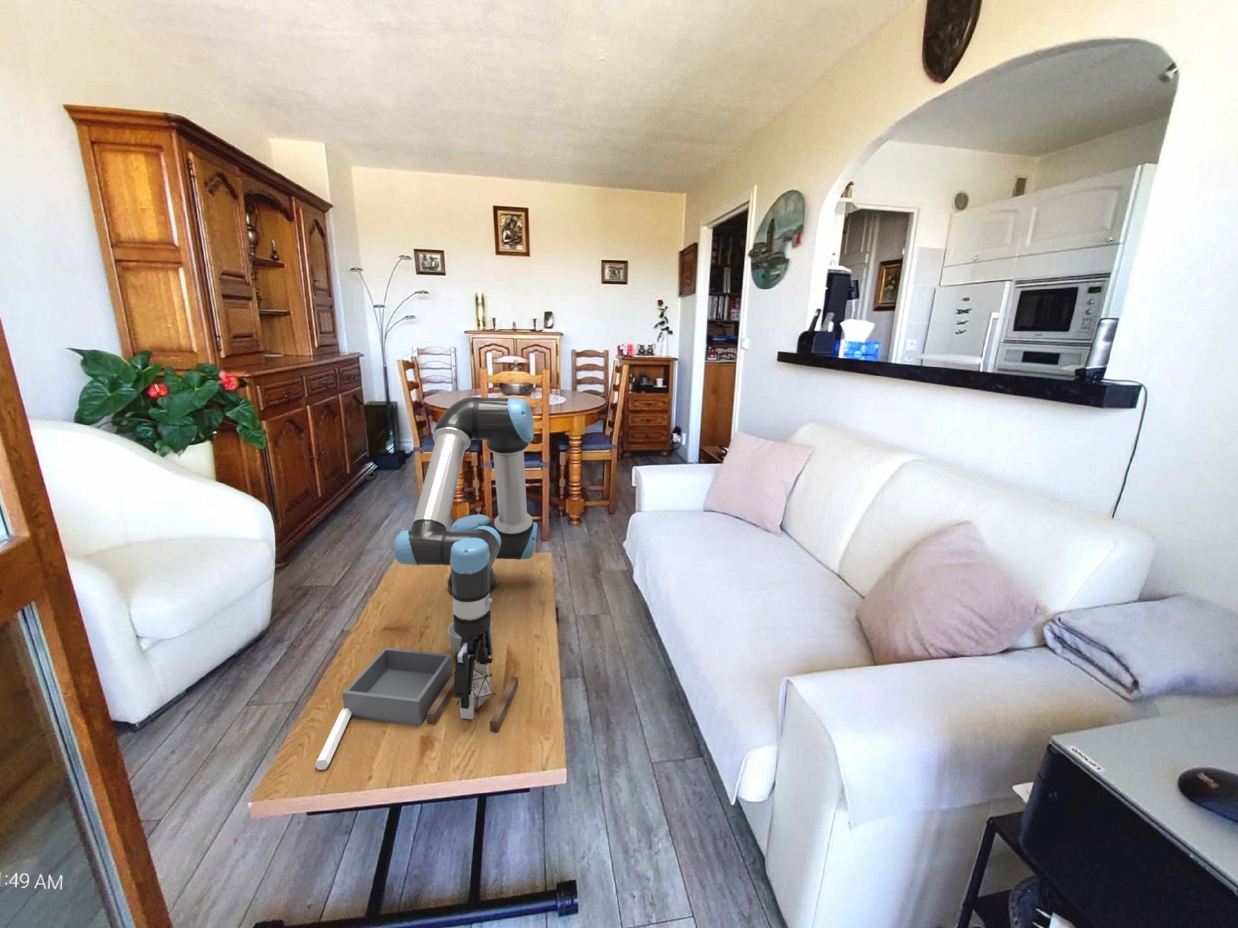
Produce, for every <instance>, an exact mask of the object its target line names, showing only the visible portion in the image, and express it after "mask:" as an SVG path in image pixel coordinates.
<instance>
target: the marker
mask: <svg viewBox="0 0 1238 928" xmlns="http://www.w3.org/2000/svg"><path fill="white" fill-rule="evenodd" d="M351 714H352V712H351V711H350V710H349V708H344V707H343V708H342V709H341V711H340V712H339V714H338V716H337V718H336V721H335V723H334V724H333V726H332V728H331V731H330V733H329V735H328V736H327V739H326V741H325V743H324V746H323V748H322V749H321V752H320V754H319V756H318V758H317V760H316V762H315V764H314V767H315V768H316V769H317V770H319V771H320V770H327V768H328V766H329V765H330V764H331V763H330V762H331V760H332V758H333V757H334V754H335V751H336V749H337V748H338V744H339V743H340V741H341V738H342V736H343V735H344V732H345V730H346V727H347V725H348V723H349V721H350V716H351Z"/></svg>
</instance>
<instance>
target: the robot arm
mask: <svg viewBox="0 0 1238 928" xmlns="http://www.w3.org/2000/svg"><path fill="white" fill-rule="evenodd" d="M534 424H535V422H534V417H533V411H532V408H531V405H530V403H529V402H528V401H527V400H526V399H523V398H522V399H521V398H514V397H509V398H507V397H479V396H470V397H464V398H462V399H460V400H457V402H455V403H454V404H452V405H450V407H448V408H447V410H445V411H444V413H442V415H441V416H440V418H439V419H438V421H437V422H436V424H435V427H434V430H433V433H432V440H433V442H434V446H433V448H432V452H431V457H430V460H429V463H428V467H427V471H426V475H425V477H424V481H423V484H422V489H421V491H420V496H419V500H418V503H417V507H416V509H415V513H414V517H413V520H412V525H411V528H410V529H407V530H401V531H399V532H398V534H397V535H396V536H395V539H394V545H393V554H394V558H395V560H396V562H398V563H399V564H401V565H412V566H422V565H423V566H427V565H428V566H433V565H434V566H440V565H441V566H450V574H449V577H448V579H447V591H448V593H449V594H451V595H452V596H451V597H452V598H451V599H452V613H453V616H452V617H453V618H452V619H453V621H454V630H455V632H456V633H457V634H458V635H459V636H460V637H461V638H462V639H461V642H460V646H461V650H460V652H455V654H453V659H454V671H455V680H454V694H453V697H454V698H455V699H459V698H460V703H459V706H460V708H459V709H460V719H467V720H474V718H475V708H474V695H473V691H471V689H472V681H473V672H474V669H475V670H478V671H480V672H482V673H484V674H487V675H489V664H490V665H491V664H492V663H493V658H491V657H492V654H493V649H492V644H491V638H490V629H489V628H490V625H491V621H492V619H491V616H492V615H491V614H492V613H491V610H490V609H491V604H492V603H493V599H492V598H491V597H490V596H491V592H493V591H494V590H495V588H496V587H497V576H496V573H495V571H494V568H493V565H494V563H495V560H498V559H499V560H518V561H521V560H529V559H531V558H533V556H534V552H535V547H536V540H537V534H538V527H539V526H538V523H537V522H534V521H533V518H532V516H531V514H529V513H528V511H527V510H528V509H527V508H528V506H527V491H526V490H527V488H526V487H527V486H526V471H525V470H526V469H525V466H526V465H525V450H527V448H528V447H529V445H530V444H529V443H531V442H532V441H533V440H534V437H535V427H534V426H535V425H534ZM473 440H477V441H485V442H486V448H487V450H489V451H490V452H491V453H492V455H493V468H494V479H495V480H494V481H495V491H496V501H497V511H498V515H497V516H496V517H495V519H494V521H491V519H490V517H489V516H488V515H484V514H471V515H466V516H463V517H461V518H458V519H457V520H455V521H454V522H453V523H452V525H451V528H450V531H448V530H447V528H448V523H449V519H450V515H451V511H452V510H451V509H452V506H453V502H454V498H455V493H456V489H457V486H458V485H457V484H458V480H459V476H460V472H461V468H462V464H463V461H464V460H463V459H464V455H465V451H466V450H467V449H469V447H470V446H471V443H472V441H473ZM487 649H488V650H487ZM469 655H474V656H469ZM475 662H477V663H476V664H475Z"/></svg>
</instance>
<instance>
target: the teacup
mask: <svg viewBox="0 0 1238 928" xmlns="http://www.w3.org/2000/svg"><path fill="white" fill-rule="evenodd" d="M492 622H493V621H492V620H491V625H490V628H489V629H490V638H491V645H492V643H493V628H492V625H493V623H492ZM446 631H447V635H448V640H449V641H448V642H449V647H450V650H451V652H452V653H453V655H454V654H455V652H460V650H461V646H460V642H461V639H462V638H461V637H460V636H459V635H458V634H457V633H456V632H455V630H454V620H453V621H452V622H451V623H450V624H449V625H448V626H447V630H446ZM487 650H488V649H487ZM469 656H474V655H469Z"/></svg>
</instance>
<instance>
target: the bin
mask: <svg viewBox="0 0 1238 928" xmlns="http://www.w3.org/2000/svg"><path fill="white" fill-rule="evenodd" d="M453 673H454V671H453V656H452V654H449V653H440V652H432V651H431V652H430V651H422V650H411V649H404V648H394V647H393V648H392V647H383V649H382V650H381V651H380V652H379V653H378V654H377V655H376V656H375V658H373V659H372V661H371V662H370V663H369V664H368V665H367V666H366V667H365V668H363V670H362V672H360V674H358V676H357V677H355V679H354V680H353V681H352V682H351V683H350V684H349V685H348V686H347V688H346V689H344V690H343V692H342V693H341V694H342V700H343V701H342V702H343V709H344V708H349V710H350V711H351V712H352V714H351V716H350V718H351V719H358V720H367V721H376V722H383V723H392V724H401V725H408V726H417V727H421V725H422V724H423V723H424V721H425V720H426V719H427V712H428V711H429V709H430V708H431V706H432V705H433V703H434V702H435V700H436V699H437V697H438V696H439V694H440V693H441V691H442V690H443V688H444V687H445V685H446V683H447V682H448V680H449V679H450V677H451V676H452V674H453Z"/></svg>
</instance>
